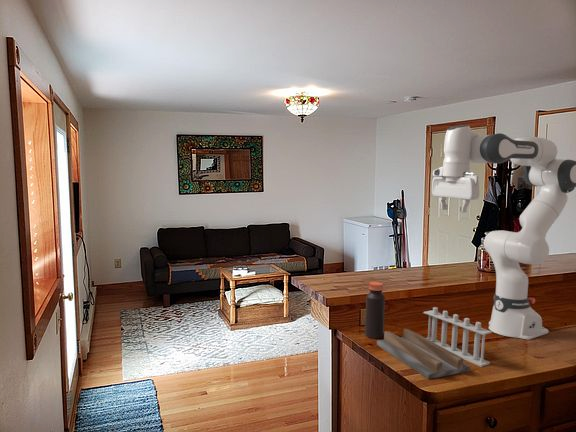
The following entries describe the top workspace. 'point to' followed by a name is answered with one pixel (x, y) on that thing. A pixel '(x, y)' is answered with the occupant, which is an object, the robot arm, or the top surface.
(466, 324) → the test tube rack
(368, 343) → the top surface
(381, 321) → the bottle
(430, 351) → the cradle
